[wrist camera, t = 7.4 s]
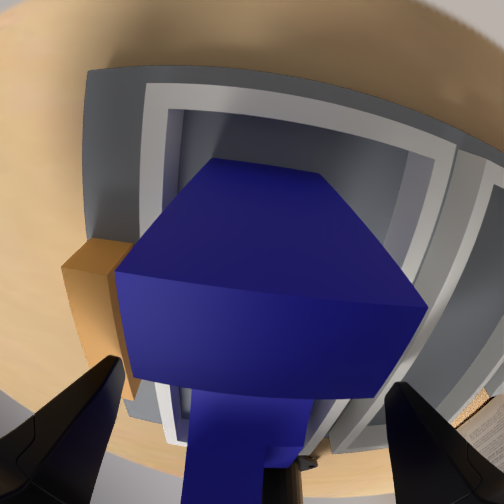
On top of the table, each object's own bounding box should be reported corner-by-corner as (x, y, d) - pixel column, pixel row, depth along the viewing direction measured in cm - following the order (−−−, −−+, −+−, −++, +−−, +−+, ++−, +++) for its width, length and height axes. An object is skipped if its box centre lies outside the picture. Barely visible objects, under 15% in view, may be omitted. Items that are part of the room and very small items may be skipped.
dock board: (563, 197, 8) (598, 218, 6) (445, 410, 16) (457, 440, 13) (103, 72, 7) (48, 66, 5) (133, 403, 15) (120, 443, 12)
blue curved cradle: (285, 418, 13) (290, 522, 8) (198, 410, 13) (182, 516, 8) (367, 183, 8) (506, 310, 3) (211, 158, 8) (113, 271, 2)
